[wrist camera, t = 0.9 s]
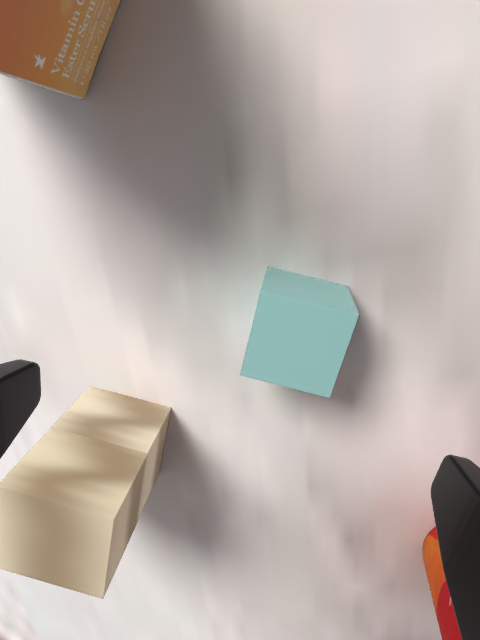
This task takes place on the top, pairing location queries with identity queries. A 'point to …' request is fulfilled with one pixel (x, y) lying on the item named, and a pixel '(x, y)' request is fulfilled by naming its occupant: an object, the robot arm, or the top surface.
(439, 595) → the paper cup
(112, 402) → the birch lower block
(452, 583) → the robot arm
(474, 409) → the top surface
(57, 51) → the small box
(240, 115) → the top surface
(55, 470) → the birch upper block
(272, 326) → the teal cube
